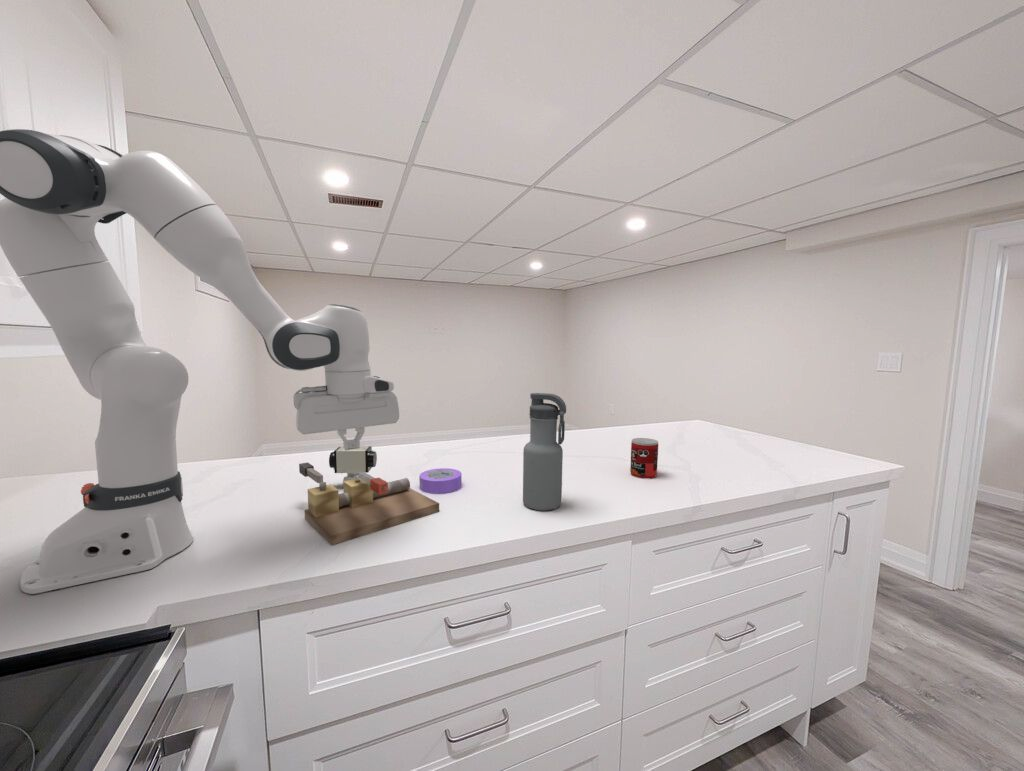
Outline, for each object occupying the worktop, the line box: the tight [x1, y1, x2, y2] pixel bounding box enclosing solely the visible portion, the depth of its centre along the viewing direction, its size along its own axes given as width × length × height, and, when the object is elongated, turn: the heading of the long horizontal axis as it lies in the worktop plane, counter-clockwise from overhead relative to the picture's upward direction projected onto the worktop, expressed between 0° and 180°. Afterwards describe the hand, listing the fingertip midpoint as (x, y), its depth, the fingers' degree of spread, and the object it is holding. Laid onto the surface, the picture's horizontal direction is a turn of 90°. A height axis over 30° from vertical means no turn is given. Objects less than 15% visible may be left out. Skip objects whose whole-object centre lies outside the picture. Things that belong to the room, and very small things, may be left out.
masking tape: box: [418, 467, 463, 495], centre depth 115 cm, size 12×12×4 cm
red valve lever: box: [355, 471, 389, 494], centre depth 93 cm, size 2×14×3 cm, turn 43°
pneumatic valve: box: [328, 445, 378, 482], centre depth 114 cm, size 6×12×12 cm, turn 96°
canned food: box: [629, 437, 659, 479], centre depth 127 cm, size 8×8×11 cm
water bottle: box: [522, 392, 567, 512], centre depth 102 cm, size 10×10×28 cm
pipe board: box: [298, 462, 440, 546], centre depth 99 cm, size 25×27×10 cm
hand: (351, 448), depth 87 cm, fingers closed
